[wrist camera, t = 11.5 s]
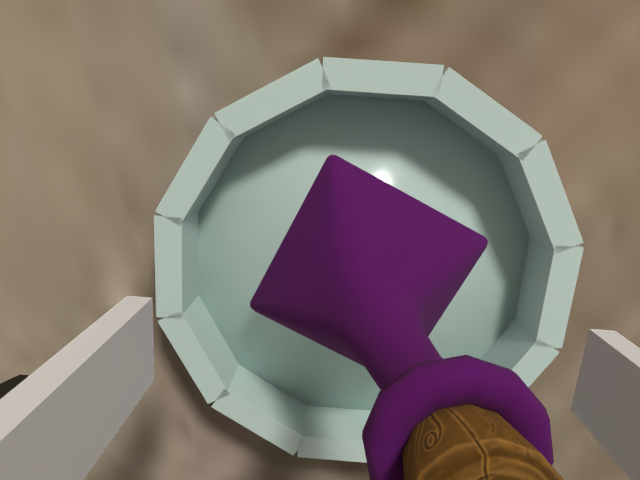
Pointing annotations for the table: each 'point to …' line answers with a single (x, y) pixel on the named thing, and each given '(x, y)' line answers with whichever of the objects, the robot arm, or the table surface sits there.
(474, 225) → the round tray
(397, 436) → the perfume bottle
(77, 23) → the table surface
